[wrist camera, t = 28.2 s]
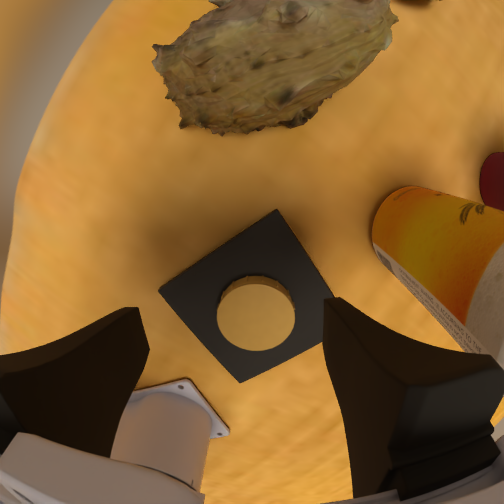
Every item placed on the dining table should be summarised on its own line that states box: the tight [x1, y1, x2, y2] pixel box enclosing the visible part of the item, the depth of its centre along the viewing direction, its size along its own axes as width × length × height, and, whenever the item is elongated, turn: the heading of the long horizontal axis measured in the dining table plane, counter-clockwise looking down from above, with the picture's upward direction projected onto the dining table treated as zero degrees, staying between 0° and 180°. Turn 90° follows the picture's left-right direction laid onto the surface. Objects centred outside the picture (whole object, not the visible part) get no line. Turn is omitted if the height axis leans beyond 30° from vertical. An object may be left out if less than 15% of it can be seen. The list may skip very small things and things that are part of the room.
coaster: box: [158, 209, 335, 383], centre depth 21 cm, size 10×10×1 cm
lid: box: [217, 275, 295, 351], centre depth 20 cm, size 5×5×1 cm
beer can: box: [372, 186, 504, 397], centre depth 12 cm, size 6×6×15 cm
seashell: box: [152, 0, 399, 136], centre depth 12 cm, size 11×15×10 cm
